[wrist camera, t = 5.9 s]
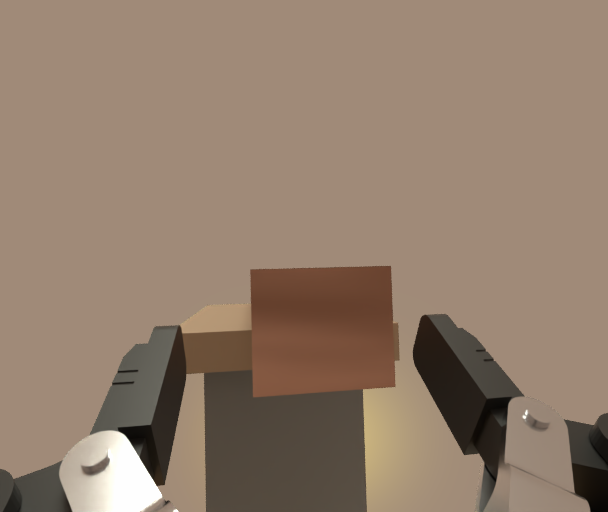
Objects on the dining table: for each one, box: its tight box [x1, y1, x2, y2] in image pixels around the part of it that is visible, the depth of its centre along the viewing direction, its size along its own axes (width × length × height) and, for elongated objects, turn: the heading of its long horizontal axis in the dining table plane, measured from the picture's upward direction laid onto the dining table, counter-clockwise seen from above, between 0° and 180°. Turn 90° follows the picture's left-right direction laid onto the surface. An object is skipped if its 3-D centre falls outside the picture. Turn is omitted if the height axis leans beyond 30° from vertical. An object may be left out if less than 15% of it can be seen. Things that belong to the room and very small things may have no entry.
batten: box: [251, 266, 395, 397], centre depth 22 cm, size 26×4×3 cm, turn 8°
